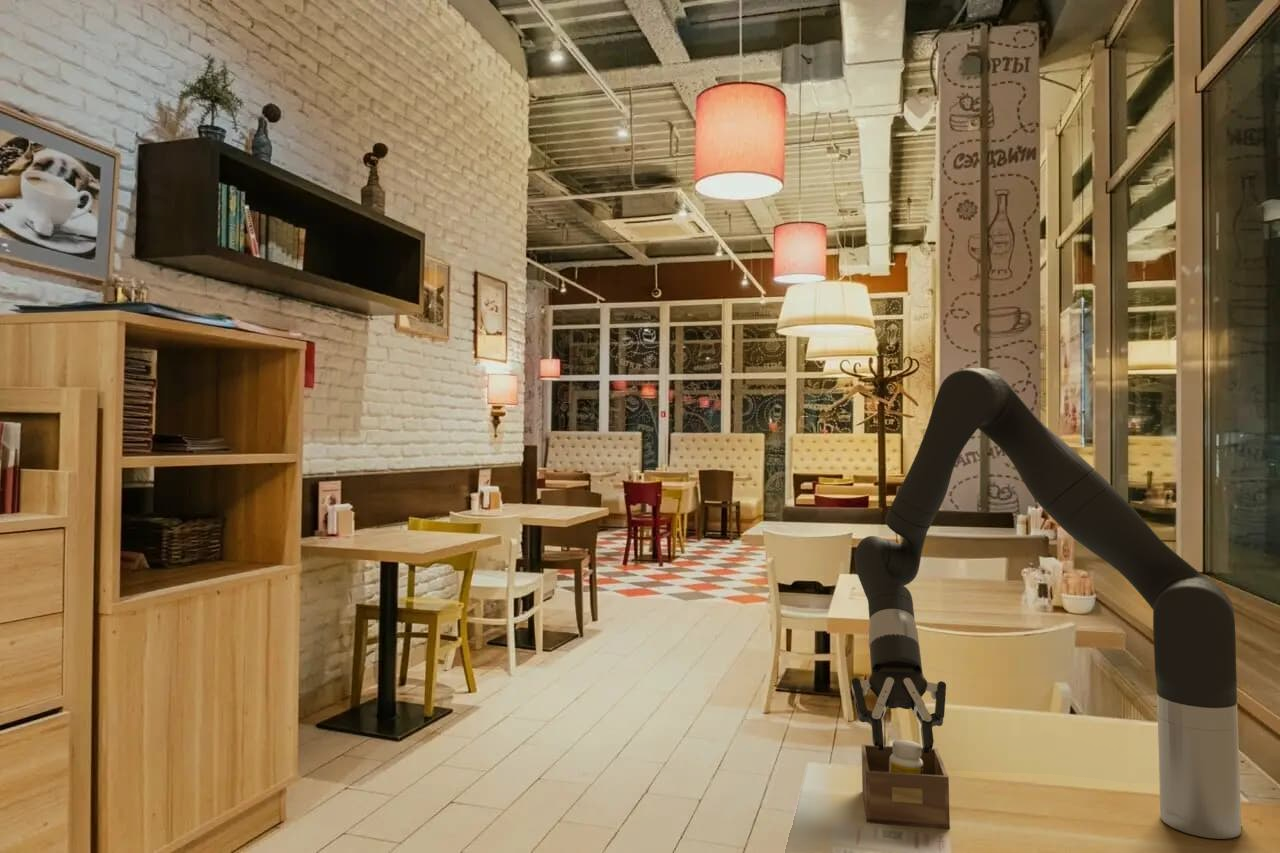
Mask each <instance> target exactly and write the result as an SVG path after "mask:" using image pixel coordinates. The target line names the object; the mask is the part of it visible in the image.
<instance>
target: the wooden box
mask: <svg viewBox="0 0 1280 853" xmlns="http://www.w3.org/2000/svg"><path fill="white" fill-rule="evenodd" d="M892 748H893V745H884V747H883V751H882V750H878V746H874V744H861V776H862V777H861V780H862V781H861V783H862V788H861V789H862V798H863V805H864V812H865V820H866V823H868V824H879V825H880V824H881V825H892V826H893V825H894V826H896V825H897V826H906V827H922V828H934V829H935V828H936V829H951V827H950V826H951V825H950V819H951V818H950V816H951V815H950V788H949V787H950V785H949V783H950V782H949V781H950V780H949V778H950V777H949V775H948V772H947V769H946V767H945V764H944V762H943V759H942V757H941V755H940V754H941V753H940V752H939V749H938V748H936V747H935V748H934V747H932V749H929V753H923V747H921V753H922V754H921V757H920V758H921V759H922V761H923V774H910V773H894V772H889V758H890V756H891V755H892V754H893V752H892V751H893V750H892Z"/></svg>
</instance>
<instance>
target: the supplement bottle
mask: <svg viewBox="0 0 1280 853" xmlns="http://www.w3.org/2000/svg"><path fill="white" fill-rule="evenodd" d="M892 746H893V748H892V750H893V751H892V752H893V754H892V755H891V756H890V758H889V772H894V773H910V774H923V761H922V759H921V758H920V757H921V754H922V753H921V748H922V745H921V744H920V743H917V741H913V740H906V739H897V740H893V742H892Z"/></svg>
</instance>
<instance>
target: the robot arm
mask: <svg viewBox="0 0 1280 853" xmlns="http://www.w3.org/2000/svg"><path fill="white" fill-rule="evenodd" d="M930 413H931V414H930V417H929V420H928V424H927V427H926V429H925V432H924V434H923V438H922V440H921V443H920V445H919V448H918V450H917V452H916V455H915V457H914V459H913V462H912V464H911V465H910V468H909V470H908V472H907V473H906V476H905V478H904V480H903V482H902V483H901V486H900V487H899V490H898V491H897V493H896V495H895V497H894V499H893V501H892V503H891V504H890V506H889V509H888V510H887V513H886V516H885V524H886V525H887V527H888V528H889V529H890V530H891V531H892V532H893V533H896V534H897V535H898V536H900V537H902V538H903V539H902V541H901V543H898V542H896V541H892V540H889V539H886V538H883V537H880V536H877V535H876V536H875V535H870V536H866V537H864V538H863V539H862V540H860V541H859V542H858V544H857V545H856V548H855V552H854V567H855V571H856V574H857V577H858V580H859V581H860V585H861V587H862V589H863V593H864V595H865V597H866V599H867V603H868V618H869V620H868V621H869V626H868V646H869V655H870V671H871V672H870V673H871V674H870V676H869V678H868V679H864V680H860V679H859V678H858V677H853V678H852V679H851V693H852V698H853V702H854V705H855V709H856V713H857V718H858V720H859V721H860V722H861V723H869V725H871V733H872V734H871V736H872V737H871V738H872V745H874V746H878V750H882V751H883V747H884V746H885V745H884V744H885V743H884V731H883V718H884V716H885V714H886V712H887V709H898V708H900V709H904V710H910V711H911V713H912V714H913V715H914V717H915V718H916V720H918V722H919V724H920V734H921V735H920V736H921V744H922V745H921V747H922V748H923V753H929V749H932V748H934V741H935V740H934V733H933V732H934V731H933V727H936V726H937V727H941V726H943V723H944V718H945V707H946V695H947V694H946V693H947V683H946V682H945V681H942V680H941V681H938V682H937V683H934V682H931V681H930V682H929V681H928V680H927V679H926V677H925V676H924V674H923V667H922V656H921V649H920V648H921V647H920V640H919V632H918V628H917V624H916V620H915V612H914V602H913V597H912V594H911V592H910V590H909V588H907V587H906V585H909V584H910V583H911V582H913V581H914V579H916V577H917V575H918V573H919V569H920V565H921V561H922V560H921V558H922V553H923V548H924V544H925V542H926V541H925V540H926V536H927V534H928V531H929V529H930V528H931V525H932V523H933V522H934V520H935V518H936V516H937V514H938V513H939V510H940V508H941V507H942V505H943V503H944V499H945V498H946V495H947V492H948V488H949V486H950V482H951V478H952V475H953V472H954V469H955V466H956V463H957V461H958V459H959V457H960V455H961V453H962V451H963V450H964V448H965V446H966V445H967V444H968V441H970V439H971V438H972V437H973V435H974V434H975V432H976V431H977V430H979V431H981V432H982V433H983V434H984V435H985V436H987V437H988V438H989V439H990V440H991V441H992V442H993V443H994V444H995V445H996V446H998V447H999V449H1000V450H1001V451H1002V452H1004V454H1005V455H1006V456H1007V457H1008V459H1009V460H1010V461H1011V463H1012V464H1013V466H1014V468H1015V469H1016V471H1017V473H1018V475H1019V477H1020V479H1021V480H1022V482H1023V483H1024V485H1025V487H1026V488H1027V490H1028V491H1029V494H1030V495H1031V496H1032V498H1034V501H1036V503H1037V504H1038V505H1039V506H1040V507H1041V508H1042V509H1043V510H1044V511H1045V512H1046V513H1047V514H1048V516H1050V517H1051V518H1052V520H1053V521H1055V523H1057V525H1058V526H1060V527H1061V529H1063V531H1064V532H1066V533H1067V534H1068V535H1069V536H1070V537H1072V538H1073V539H1074V540H1075V541H1076V542H1078V544H1081V546H1083V547H1085V548H1086V549H1087V550H1088V551H1090V552H1092V553H1093V554H1094V555H1095V556H1097V557H1098V558H1100V559H1102V561H1104V562H1106V563H1108V564H1109V565H1110V566H1112V567H1113V568H1114V569H1115V570H1117V571H1118V573H1119V574H1121V575H1122V576H1123V577H1124V578H1125V579H1126V580H1127V581H1128V583H1130V584H1131V586H1132V587H1133V588H1134V589H1135V590H1137V592H1138V594H1140V595H1141V597H1142V598H1143V599H1144V600H1145V602H1146V603H1147V604H1148V605H1149V607H1150V608H1151V609H1152V614H1153V615H1152V626H1153V628H1152V629H1153V630H1152V631H1153V632H1152V633H1153V653H1154V654H1153V655H1154V673H1155V674H1154V675H1155V681H1156V682H1155V683H1156V706H1157V708H1156V709H1157V711H1156V712H1157V734H1158V735H1157V736H1158V738H1157V742H1158V769H1159V770H1158V772H1159V776H1158V778H1159V812H1160V813H1159V817H1160V819H1161V820H1162V821H1163V823H1165V824H1166V825H1167V826H1169V827H1171V828H1173V829H1175V830H1178V831H1180V832H1183V833H1186V834H1189V835H1193V836H1195V837H1196V836H1197V837H1201V838H1207V839H1215V840H1216V839H1217V840H1220V839H1221V840H1223V839H1224V840H1226V839H1233V838H1236V837H1238V836H1240V835H1241V833H1242V831H1241V830H1242V827H1241V825H1242V804H1241V774H1240V773H1241V772H1240V769H1241V768H1240V755H1239V754H1240V752H1239V751H1240V750H1239V724H1238V723H1239V722H1238V721H1239V720H1238V680H1237V679H1238V678H1237V652H1236V651H1237V649H1236V644H1237V643H1236V621H1235V611H1234V606H1233V603H1232V601H1231V599H1230V598H1229V596H1228V595H1227V593H1225V591H1224V590H1223V589H1222V588H1221V587H1219V586H1218V585H1216V584H1215V583H1214V582H1213V581H1212V580H1210V579H1209V578H1207V577H1206V576H1205V575H1203V574H1202V573H1201V572H1200V571H1199V570H1197V569H1196V568H1195V567H1194V566H1192V565H1191V564H1189V562H1187V561H1186V560H1184V559H1183V558H1182V557H1181V556H1180V555H1179V554H1177V553H1176V552H1175V551H1174V550H1173V549H1172V548H1170V547H1169V546H1168V545H1167V544H1166V543H1165V542H1163V540H1162V539H1161V538H1160V537H1159V536H1158V535H1157V534H1156V533H1155V532H1154V531H1153V529H1152V528H1151V526H1149V525H1148V523H1147V522H1146V521H1145V520H1144V519H1143V518H1142V516H1141V515H1140V514H1139V513H1138V512H1137V511H1136V510H1135V508H1134V507H1133V506H1132V505H1131V504H1130V503H1129V501H1127V500H1126V499H1125V498H1124V497H1123V496H1122V495H1121V493H1119V492H1118V491H1117V489H1115V487H1114V486H1113V485H1111V483H1109V482H1108V480H1106V479H1105V478H1104V476H1103V475H1101V473H1099V472H1098V471H1097V470H1096V469H1095V468H1094V466H1092V465H1090V463H1089V462H1087V461H1086V460H1085V459H1084V458H1082V456H1081V455H1080V454H1078V453H1077V452H1076V451H1075V450H1074V449H1073V448H1071V446H1069V445H1068V444H1067V443H1066V442H1065V441H1064V440H1062V439H1061V438H1060V437H1059V436H1058V435H1057V434H1055V433H1054V432H1053V431H1052V430H1051V429H1049V427H1047V426H1046V425H1044V424H1045V423H1043V422H1041V420H1040V419H1039V418H1038V417H1037V416H1036V414H1034V413H1033V412H1032V411H1031V409H1030V408H1029V407H1028V406H1027V404H1026V403H1025V402H1024V401H1023V400H1022V399H1021V397H1020V396H1019V395H1018V394H1017V392H1016V391H1014V389H1013V388H1012V386H1011V385H1010V384H1009V383H1008V381H1006V380H1005V378H1004V377H1003V376H1001V374H999V373H998V372H996V371H994V370H992V369H989V368H986V367H968V368H962V369H958V370H956V371H954V372H952V373H950V374H949V375H947V377H945V379H943V380H942V382H941V384H940V387H939V389H938V392H937V394H936V398H935V401H934V404H933V408H932V411H931V412H930ZM869 689H870V690H871V692H873V694H874V696H875V697H877V700H876V701H875V702H876V703H875V705H874V708H873V710H870V709H868V708H867V704H866V700H865V697H866V695H867V692H868V691H867V690H869ZM926 692H929V693H930V698H932V699H933V700H935V705H934V712H933V713H930V712H929V710H928V709H927V706H926V703H925V701H924V699H923V698H922V697H923V696H924V694H925V693H926ZM864 696H865V697H864Z"/></svg>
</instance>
